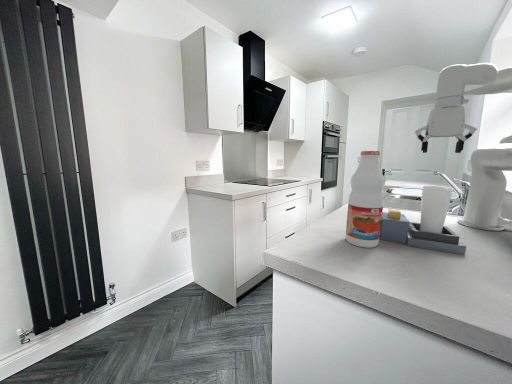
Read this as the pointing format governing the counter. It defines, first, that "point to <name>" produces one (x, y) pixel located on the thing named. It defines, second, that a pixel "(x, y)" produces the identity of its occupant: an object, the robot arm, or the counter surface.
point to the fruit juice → (365, 202)
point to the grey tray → (418, 234)
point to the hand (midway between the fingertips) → (440, 152)
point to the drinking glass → (434, 208)
